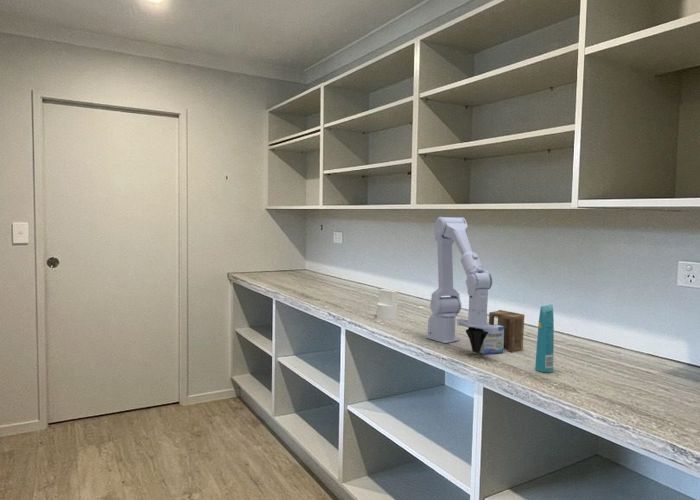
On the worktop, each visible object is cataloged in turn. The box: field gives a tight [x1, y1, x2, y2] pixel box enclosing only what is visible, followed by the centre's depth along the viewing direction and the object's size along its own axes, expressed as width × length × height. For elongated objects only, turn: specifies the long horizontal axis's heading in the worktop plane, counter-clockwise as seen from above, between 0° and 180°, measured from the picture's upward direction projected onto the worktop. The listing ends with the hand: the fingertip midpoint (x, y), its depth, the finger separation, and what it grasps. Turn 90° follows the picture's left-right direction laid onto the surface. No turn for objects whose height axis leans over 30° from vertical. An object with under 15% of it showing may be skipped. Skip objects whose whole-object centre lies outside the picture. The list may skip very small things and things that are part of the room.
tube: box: [534, 303, 555, 373], centre depth 142 cm, size 7×5×19 cm, turn 139°
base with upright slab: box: [376, 288, 399, 321], centre depth 212 cm, size 9×9×12 cm
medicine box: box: [478, 324, 505, 355], centre depth 161 cm, size 8×4×9 cm, turn 109°
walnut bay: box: [488, 309, 525, 353], centre depth 166 cm, size 9×6×12 cm
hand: (476, 351), depth 157 cm, fingers closed
